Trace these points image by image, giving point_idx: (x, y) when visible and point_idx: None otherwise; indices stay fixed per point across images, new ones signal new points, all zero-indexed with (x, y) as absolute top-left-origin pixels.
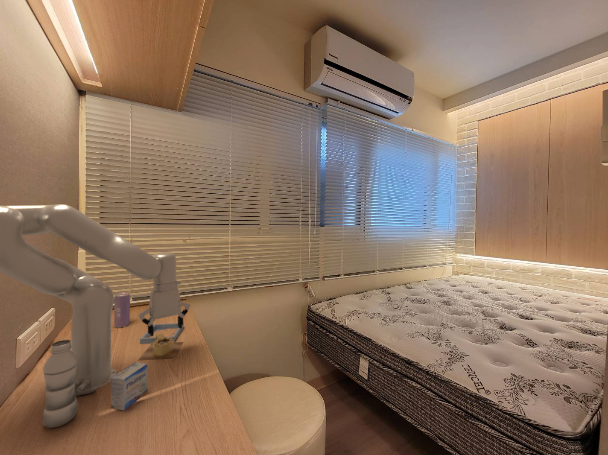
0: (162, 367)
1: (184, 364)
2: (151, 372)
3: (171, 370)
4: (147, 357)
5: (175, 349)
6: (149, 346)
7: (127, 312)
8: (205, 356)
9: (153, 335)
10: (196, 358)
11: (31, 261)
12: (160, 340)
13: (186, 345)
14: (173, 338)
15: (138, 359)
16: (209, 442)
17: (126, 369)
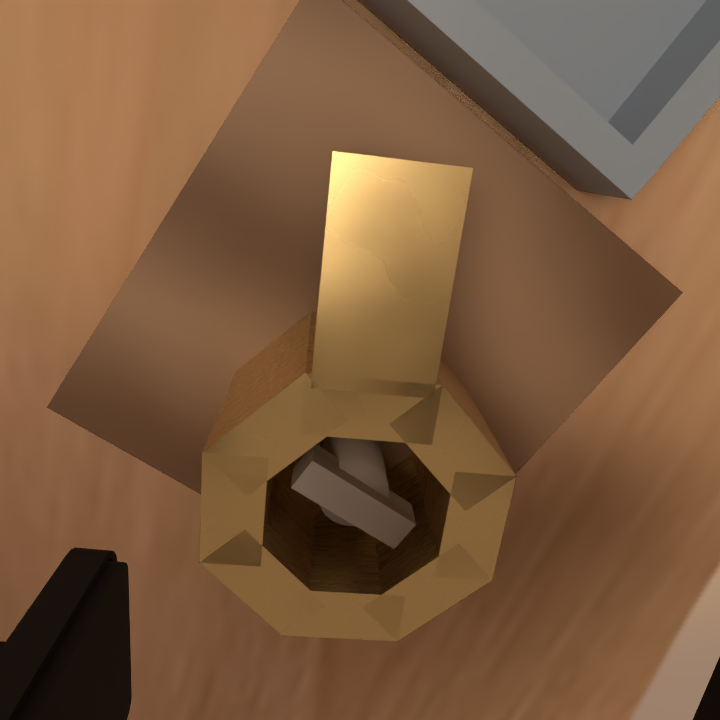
0: (264, 620)
1: (436, 685)
2: (159, 637)
3: (311, 703)
4: (162, 409)
5: (495, 433)
6: (257, 75)
7: None
8: (641, 676)
9: (127, 709)
10: (566, 660)
11: None
12: (335, 429)
13: (667, 340)
14: (614, 190)
15: (59, 389)
16: None
17: None
